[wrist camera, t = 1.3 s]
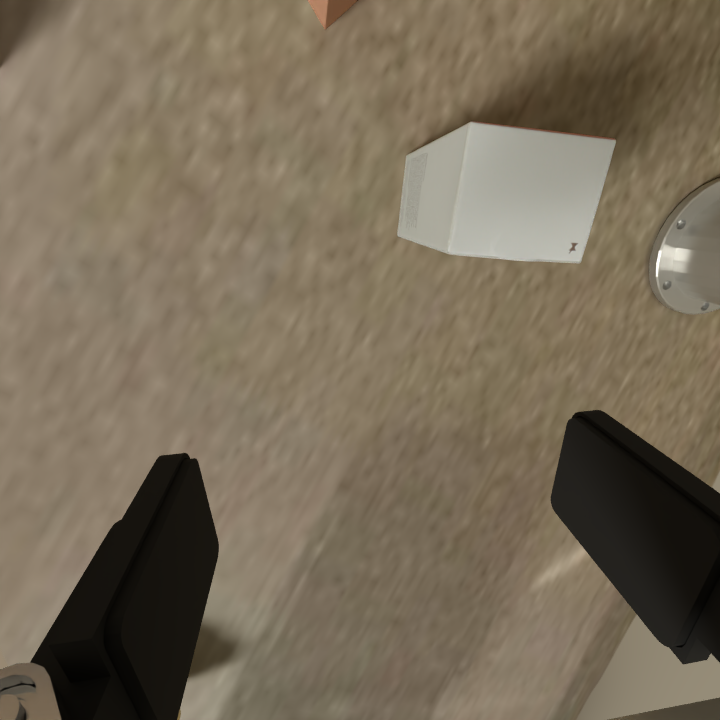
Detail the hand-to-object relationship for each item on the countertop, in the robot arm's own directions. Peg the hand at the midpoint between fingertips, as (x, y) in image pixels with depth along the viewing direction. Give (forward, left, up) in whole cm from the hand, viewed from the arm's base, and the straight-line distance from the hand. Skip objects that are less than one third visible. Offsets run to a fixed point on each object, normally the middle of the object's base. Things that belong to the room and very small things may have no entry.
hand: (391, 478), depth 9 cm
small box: (-12, 0, -26) cm, 28 cm away
